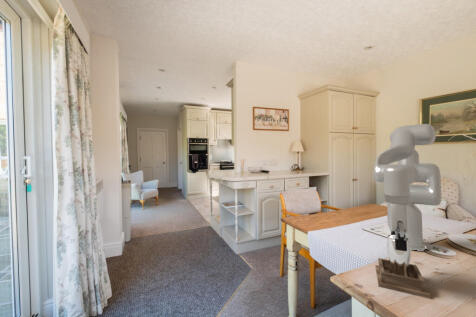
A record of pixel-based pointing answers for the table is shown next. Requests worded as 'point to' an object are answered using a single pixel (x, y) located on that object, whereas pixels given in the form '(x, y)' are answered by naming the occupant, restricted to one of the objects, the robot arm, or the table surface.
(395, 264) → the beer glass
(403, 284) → the brown wooden tray
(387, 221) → the robot arm
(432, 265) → the table surface
